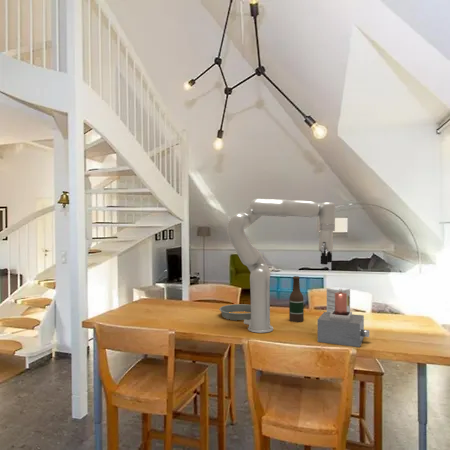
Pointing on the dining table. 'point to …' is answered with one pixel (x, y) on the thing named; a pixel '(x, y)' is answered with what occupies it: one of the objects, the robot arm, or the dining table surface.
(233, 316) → the cake pan
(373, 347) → the dining table surface
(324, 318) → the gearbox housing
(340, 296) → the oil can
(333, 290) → the supplement box
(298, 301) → the beer bottle
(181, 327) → the dining table surface
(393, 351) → the dining table surface
